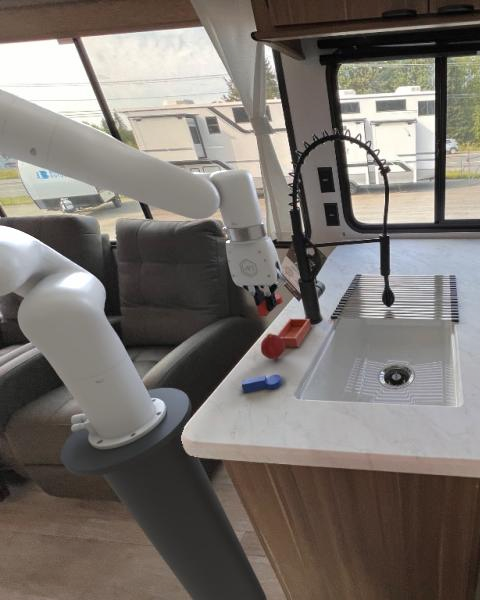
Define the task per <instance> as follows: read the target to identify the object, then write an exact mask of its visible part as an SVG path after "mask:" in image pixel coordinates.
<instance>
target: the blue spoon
mask: <svg viewBox="0 0 480 600" xmlns="http://www.w3.org/2000/svg"><path fill="white" fill-rule="evenodd" d="M282 384H283V381H282V377H281V376H280V375H279V374H272V375H269V376H268V377H267V376H266V375H261V376H254V377H250V378H244V379H242V381H241V388H242V391H243V393H244V394H245V393H250V392H255V391H260V390H265V389H268V390H276V389H278V388H280V387H281V386H282Z"/></svg>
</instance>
